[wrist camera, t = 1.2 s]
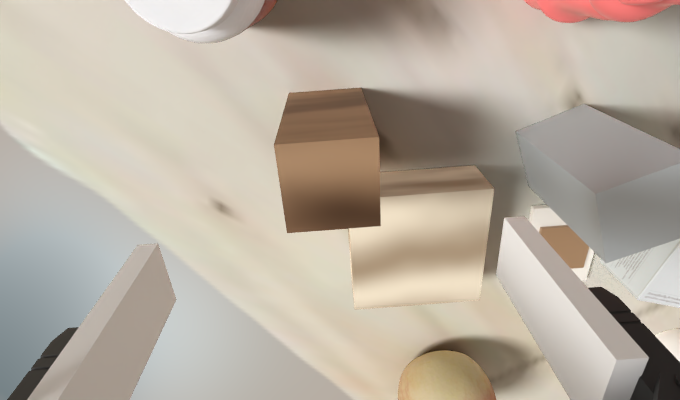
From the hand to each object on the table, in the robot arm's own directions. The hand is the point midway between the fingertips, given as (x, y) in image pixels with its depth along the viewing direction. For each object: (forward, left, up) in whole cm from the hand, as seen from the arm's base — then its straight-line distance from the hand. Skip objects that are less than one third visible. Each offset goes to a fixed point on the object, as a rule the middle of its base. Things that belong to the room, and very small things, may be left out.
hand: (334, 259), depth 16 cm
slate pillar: (+3, +17, -16) cm, 23 cm away
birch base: (+9, +6, -16) cm, 19 cm away
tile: (+12, +19, -16) cm, 27 cm away
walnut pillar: (0, 0, -16) cm, 16 cm away
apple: (+26, +9, -16) cm, 31 cm away
